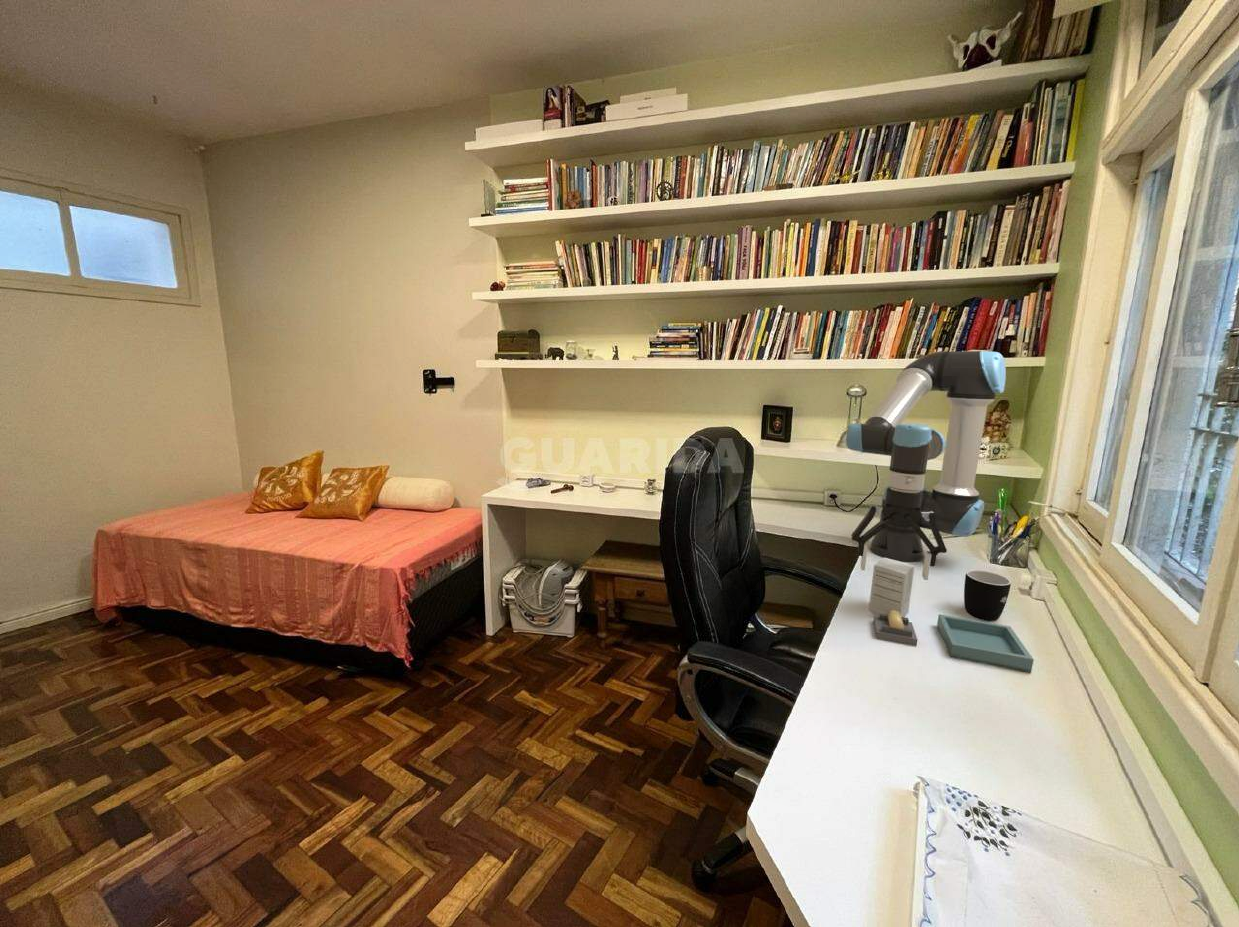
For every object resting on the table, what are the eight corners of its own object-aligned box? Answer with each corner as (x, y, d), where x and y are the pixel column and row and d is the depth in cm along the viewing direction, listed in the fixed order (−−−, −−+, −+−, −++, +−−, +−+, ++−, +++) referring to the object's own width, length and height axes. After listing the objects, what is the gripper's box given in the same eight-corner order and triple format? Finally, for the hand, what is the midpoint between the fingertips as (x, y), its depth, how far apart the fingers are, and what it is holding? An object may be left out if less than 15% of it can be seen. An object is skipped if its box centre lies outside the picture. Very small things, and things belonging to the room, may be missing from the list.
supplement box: (877, 602, 131) (883, 556, 129) (909, 612, 126) (916, 565, 123) (867, 611, 126) (873, 564, 123) (899, 622, 121) (906, 573, 118)
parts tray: (936, 625, 120) (938, 614, 119) (1008, 638, 115) (1010, 626, 114) (950, 657, 107) (952, 644, 106) (1031, 672, 102) (1033, 659, 101)
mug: (1001, 628, 119) (1008, 588, 117) (956, 615, 125) (963, 577, 123) (1007, 610, 128) (1014, 573, 126) (965, 599, 133) (971, 563, 131)
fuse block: (873, 621, 121) (875, 604, 120) (910, 628, 118) (913, 611, 117) (876, 638, 114) (878, 620, 113) (916, 646, 111) (919, 627, 110)
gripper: (848, 486, 121) (838, 569, 125) (970, 499, 112) (956, 588, 116) (846, 480, 127) (837, 559, 131) (962, 491, 118) (948, 576, 123)
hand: (893, 573), depth 124 cm, fingers open, 13 cm apart
